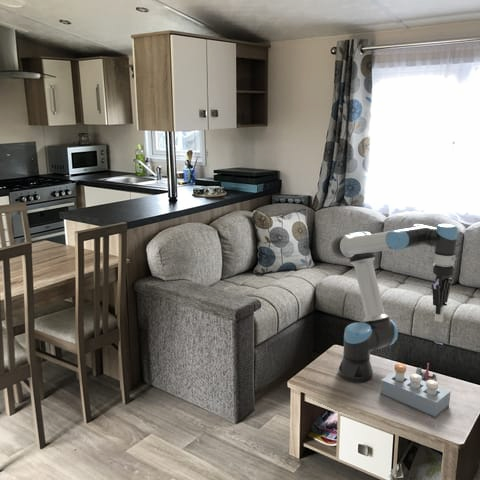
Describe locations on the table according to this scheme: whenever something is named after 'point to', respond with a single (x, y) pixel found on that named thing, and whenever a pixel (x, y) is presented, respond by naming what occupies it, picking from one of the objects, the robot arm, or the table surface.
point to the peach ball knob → (400, 372)
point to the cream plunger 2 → (432, 387)
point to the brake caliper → (426, 374)
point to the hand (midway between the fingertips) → (438, 320)
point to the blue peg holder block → (415, 395)
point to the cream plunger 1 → (415, 381)
